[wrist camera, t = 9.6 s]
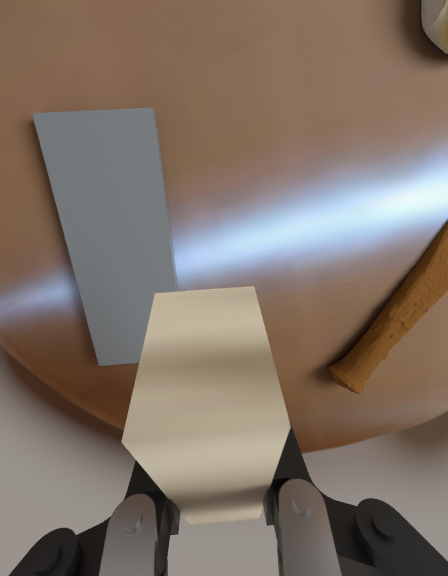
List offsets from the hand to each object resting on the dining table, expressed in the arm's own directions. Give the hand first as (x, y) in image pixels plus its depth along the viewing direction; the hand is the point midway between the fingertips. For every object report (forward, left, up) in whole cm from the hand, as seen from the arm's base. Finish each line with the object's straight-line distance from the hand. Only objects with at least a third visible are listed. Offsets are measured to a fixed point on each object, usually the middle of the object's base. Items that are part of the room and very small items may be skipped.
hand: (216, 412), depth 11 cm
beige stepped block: (+1, 0, -1) cm, 1 cm away
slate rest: (-5, -7, -12) cm, 15 cm away
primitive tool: (+1, +18, -13) cm, 22 cm away
